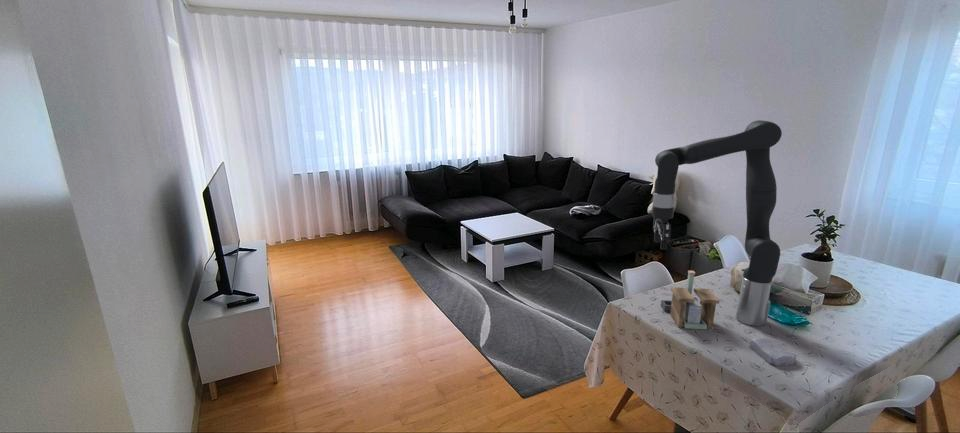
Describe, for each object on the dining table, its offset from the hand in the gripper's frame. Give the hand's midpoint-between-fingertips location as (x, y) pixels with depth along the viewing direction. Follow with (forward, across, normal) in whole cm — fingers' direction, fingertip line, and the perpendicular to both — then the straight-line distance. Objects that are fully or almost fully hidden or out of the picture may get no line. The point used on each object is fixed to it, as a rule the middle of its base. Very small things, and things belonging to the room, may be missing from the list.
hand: (660, 245), depth 167 cm
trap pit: (+28, +3, -11) cm, 30 cm away
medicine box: (+28, -7, -11) cm, 31 cm away
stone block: (+29, -28, -30) cm, 50 cm away
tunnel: (+28, -7, -11) cm, 31 cm away
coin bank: (+30, +27, -46) cm, 61 cm away
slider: (+28, -7, -11) cm, 31 cm away
